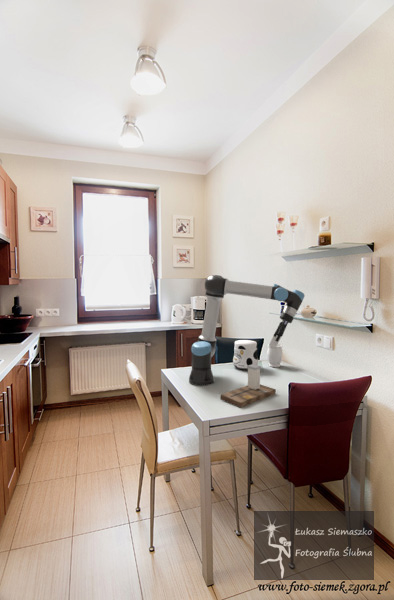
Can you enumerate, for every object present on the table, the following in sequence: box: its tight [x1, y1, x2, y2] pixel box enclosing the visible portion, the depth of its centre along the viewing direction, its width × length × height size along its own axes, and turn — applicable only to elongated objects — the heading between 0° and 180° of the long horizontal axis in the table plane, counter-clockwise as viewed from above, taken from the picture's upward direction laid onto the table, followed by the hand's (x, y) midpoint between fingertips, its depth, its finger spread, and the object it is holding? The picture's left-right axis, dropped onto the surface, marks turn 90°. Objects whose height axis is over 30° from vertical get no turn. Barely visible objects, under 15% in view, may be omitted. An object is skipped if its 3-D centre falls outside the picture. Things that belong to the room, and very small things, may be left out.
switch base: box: [219, 383, 277, 408], centre depth 168 cm, size 28×14×3 cm, turn 130°
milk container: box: [232, 339, 259, 370], centre depth 221 cm, size 17×17×18 cm
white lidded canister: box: [247, 364, 262, 390], centre depth 172 cm, size 5×6×12 cm
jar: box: [266, 343, 283, 368], centre depth 225 cm, size 11×10×15 cm
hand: (272, 346), depth 187 cm, fingers open, 13 cm apart
